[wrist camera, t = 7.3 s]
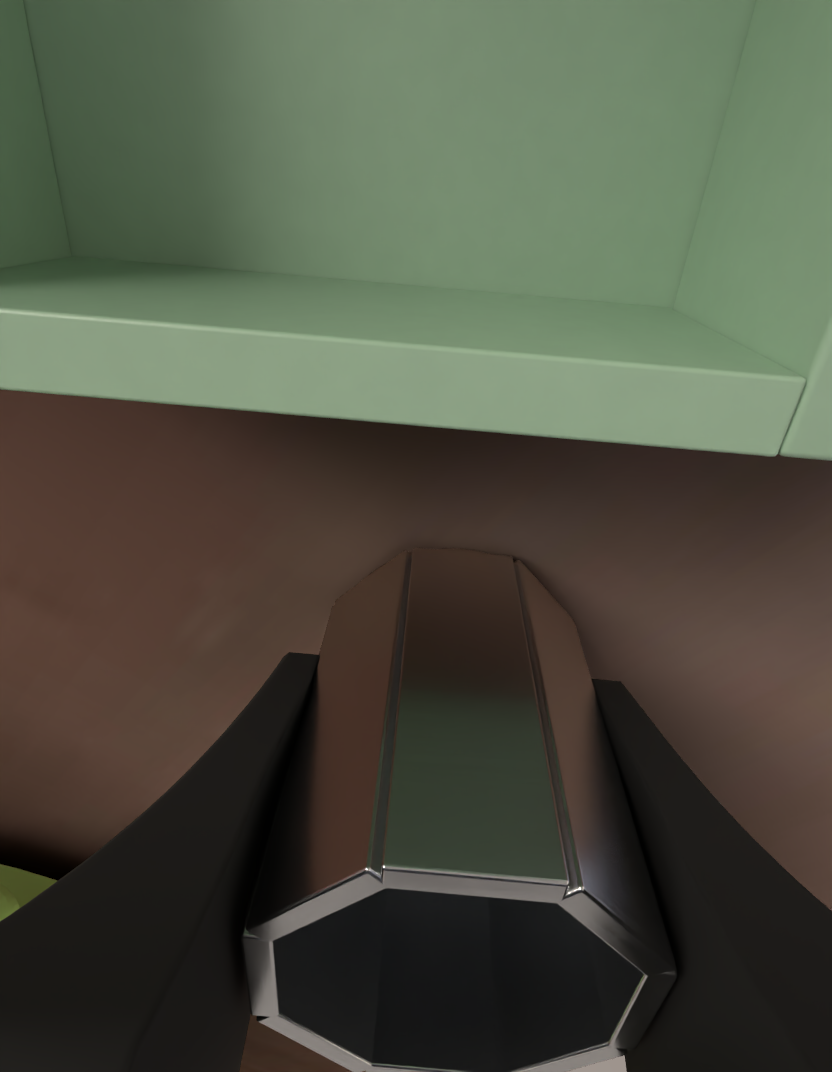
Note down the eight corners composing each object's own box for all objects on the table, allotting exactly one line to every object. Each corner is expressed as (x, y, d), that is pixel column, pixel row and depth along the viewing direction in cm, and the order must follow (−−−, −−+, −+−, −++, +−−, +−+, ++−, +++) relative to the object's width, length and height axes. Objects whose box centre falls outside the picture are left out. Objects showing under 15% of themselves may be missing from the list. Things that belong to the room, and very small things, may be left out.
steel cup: (590, 556, 12) (725, 897, 6) (544, 737, 15) (608, 1100, 9) (334, 534, 12) (227, 854, 6) (332, 718, 15) (256, 1068, 9)
